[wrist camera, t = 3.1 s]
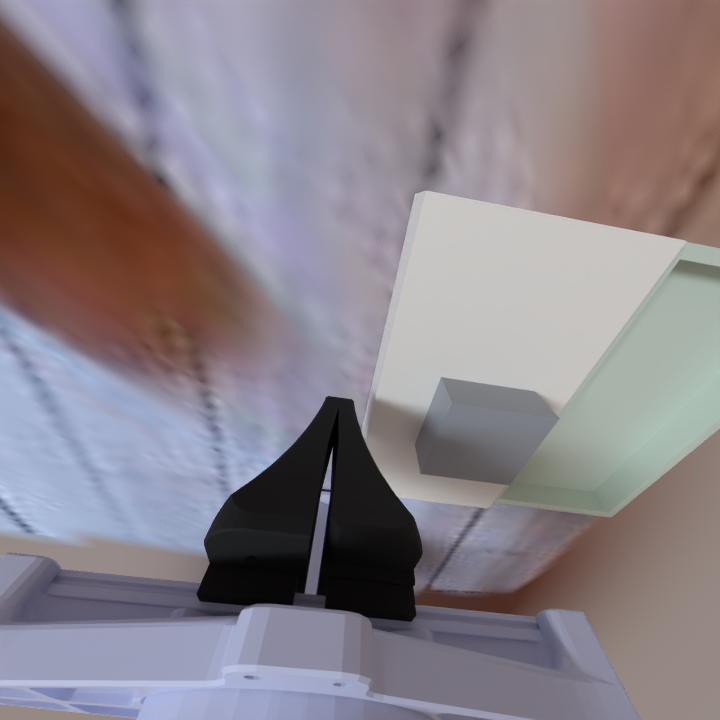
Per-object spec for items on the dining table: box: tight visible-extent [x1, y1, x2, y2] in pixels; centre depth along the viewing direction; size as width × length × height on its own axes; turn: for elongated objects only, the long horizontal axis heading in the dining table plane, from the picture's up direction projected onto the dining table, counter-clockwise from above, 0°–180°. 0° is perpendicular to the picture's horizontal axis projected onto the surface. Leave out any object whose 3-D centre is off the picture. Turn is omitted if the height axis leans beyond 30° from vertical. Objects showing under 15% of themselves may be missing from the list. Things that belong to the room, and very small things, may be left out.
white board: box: [361, 191, 687, 509], centre depth 15 cm, size 18×10×2 cm, turn 171°
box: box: [493, 242, 720, 517], centre depth 16 cm, size 18×10×2 cm, turn 171°
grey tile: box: [415, 377, 560, 485], centre depth 14 cm, size 5×5×2 cm
